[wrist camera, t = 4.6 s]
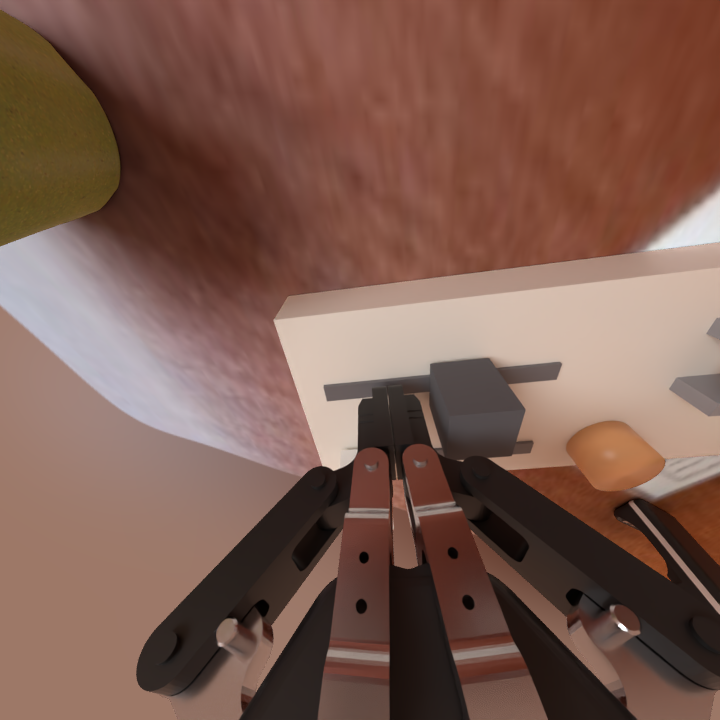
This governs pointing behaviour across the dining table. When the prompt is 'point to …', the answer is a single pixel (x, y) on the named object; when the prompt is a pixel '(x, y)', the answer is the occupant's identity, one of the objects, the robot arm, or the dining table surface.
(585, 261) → the console
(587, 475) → the orange button
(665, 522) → the battery charger
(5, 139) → the plant pot
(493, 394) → the black slider
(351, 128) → the dining table surface
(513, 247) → the dining table surface
